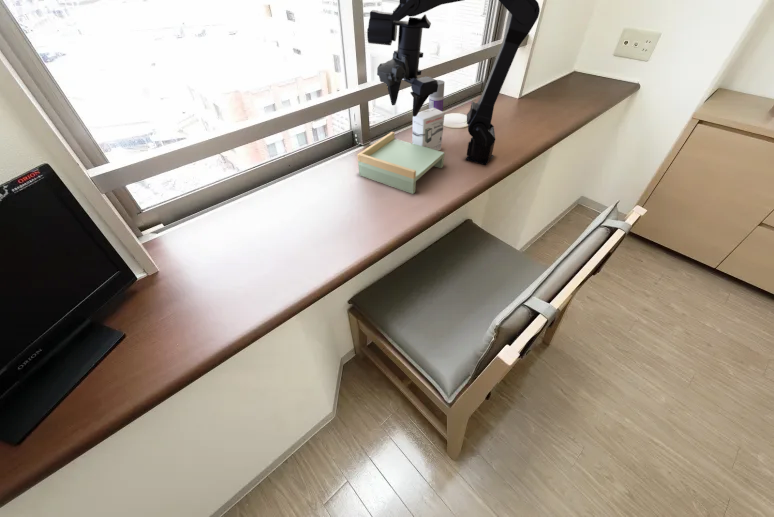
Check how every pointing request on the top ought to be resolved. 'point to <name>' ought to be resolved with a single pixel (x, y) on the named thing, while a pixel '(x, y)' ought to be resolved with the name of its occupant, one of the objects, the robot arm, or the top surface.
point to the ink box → (428, 128)
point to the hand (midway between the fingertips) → (403, 110)
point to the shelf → (397, 162)
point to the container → (437, 97)
